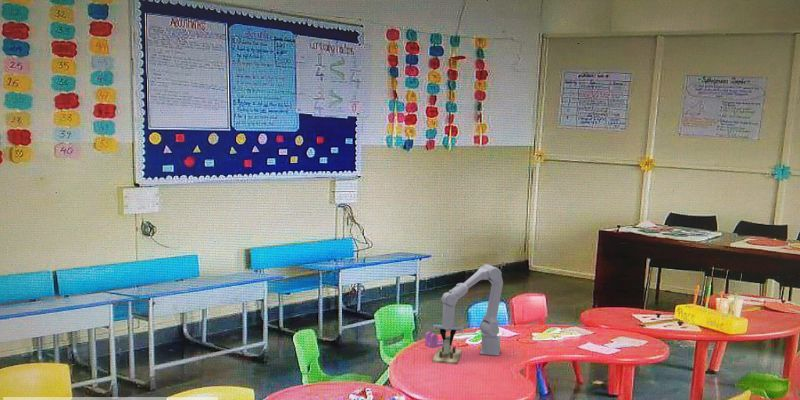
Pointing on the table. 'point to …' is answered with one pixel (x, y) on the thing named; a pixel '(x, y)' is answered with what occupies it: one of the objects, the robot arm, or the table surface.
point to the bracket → (432, 340)
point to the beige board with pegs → (447, 356)
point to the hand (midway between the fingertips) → (447, 344)
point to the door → (447, 345)
